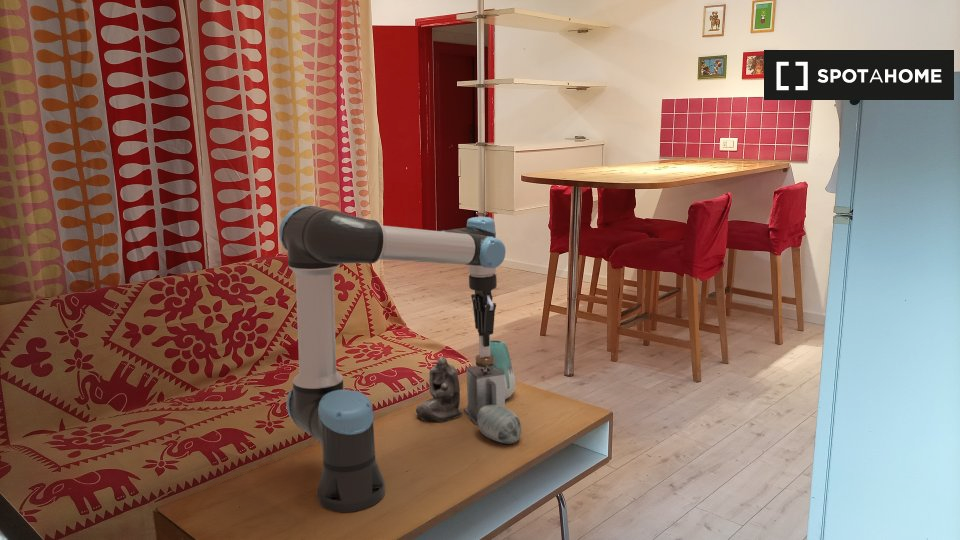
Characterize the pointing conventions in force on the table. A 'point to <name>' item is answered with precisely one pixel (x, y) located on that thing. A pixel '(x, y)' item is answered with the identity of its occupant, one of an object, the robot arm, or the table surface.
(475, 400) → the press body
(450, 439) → the table surface
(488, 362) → the plunger
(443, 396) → the figurine
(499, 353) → the vase
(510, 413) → the striped grey egg shape
